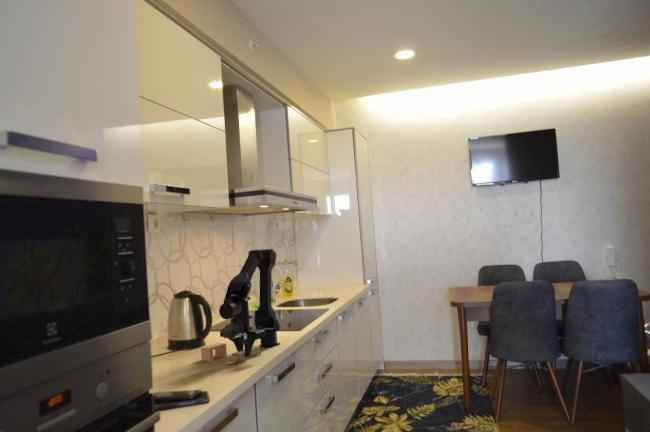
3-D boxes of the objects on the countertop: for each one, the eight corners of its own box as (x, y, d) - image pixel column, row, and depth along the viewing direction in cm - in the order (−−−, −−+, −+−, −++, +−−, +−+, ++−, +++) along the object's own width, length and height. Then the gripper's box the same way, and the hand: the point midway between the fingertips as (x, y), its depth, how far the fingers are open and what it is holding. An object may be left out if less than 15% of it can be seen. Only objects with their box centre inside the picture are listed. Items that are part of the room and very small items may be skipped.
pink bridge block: (218, 354, 184) (217, 342, 184) (226, 356, 181) (226, 343, 181) (201, 360, 178) (200, 347, 178) (210, 361, 175) (209, 348, 175)
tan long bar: (255, 353, 181) (255, 345, 181) (261, 354, 179) (260, 346, 179) (226, 364, 169) (225, 356, 169) (231, 365, 167) (231, 356, 167)
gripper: (207, 317, 174) (210, 359, 173) (243, 319, 163) (246, 365, 162) (230, 311, 183) (232, 352, 182) (265, 313, 172) (268, 356, 171)
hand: (244, 356), depth 174 cm, fingers closed on tan long bar, 3 cm apart
